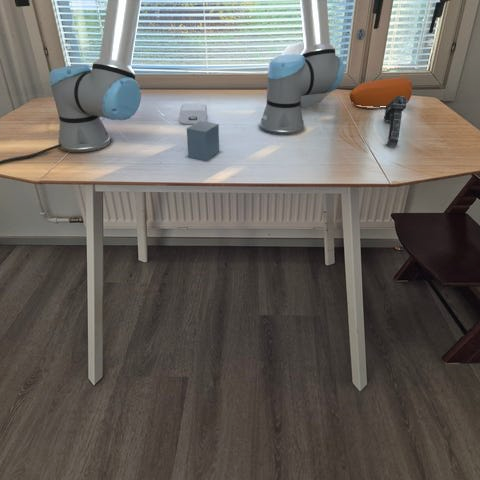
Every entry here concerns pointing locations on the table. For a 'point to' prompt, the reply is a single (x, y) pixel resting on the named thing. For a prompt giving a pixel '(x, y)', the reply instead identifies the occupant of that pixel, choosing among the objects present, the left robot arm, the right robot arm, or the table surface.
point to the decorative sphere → (306, 99)
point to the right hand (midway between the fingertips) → (402, 30)
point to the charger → (193, 113)
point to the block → (203, 140)
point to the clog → (381, 92)
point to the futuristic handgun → (395, 118)
